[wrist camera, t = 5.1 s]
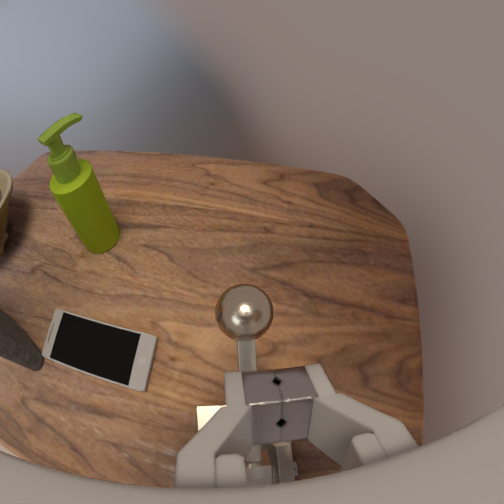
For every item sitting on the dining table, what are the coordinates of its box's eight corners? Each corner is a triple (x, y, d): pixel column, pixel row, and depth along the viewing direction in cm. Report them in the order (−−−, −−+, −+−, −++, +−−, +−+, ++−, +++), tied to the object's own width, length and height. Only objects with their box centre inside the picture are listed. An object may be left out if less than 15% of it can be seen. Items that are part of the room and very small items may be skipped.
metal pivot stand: (197, 406, 31) (174, 398, 18) (284, 400, 32) (320, 387, 19) (206, 500, 25) (190, 549, 12) (294, 493, 26) (335, 534, 13)
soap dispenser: (131, 227, 43) (91, 115, 26) (100, 260, 39) (39, 156, 22) (107, 210, 44) (65, 106, 27) (78, 241, 41) (20, 141, 24)
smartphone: (145, 393, 31) (143, 392, 30) (44, 357, 31) (40, 355, 30) (158, 337, 35) (156, 335, 34) (58, 309, 35) (55, 307, 34)
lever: (214, 285, 20) (212, 284, 17) (267, 283, 21) (276, 281, 17) (229, 476, 19) (231, 502, 15) (275, 471, 19) (284, 497, 15)
